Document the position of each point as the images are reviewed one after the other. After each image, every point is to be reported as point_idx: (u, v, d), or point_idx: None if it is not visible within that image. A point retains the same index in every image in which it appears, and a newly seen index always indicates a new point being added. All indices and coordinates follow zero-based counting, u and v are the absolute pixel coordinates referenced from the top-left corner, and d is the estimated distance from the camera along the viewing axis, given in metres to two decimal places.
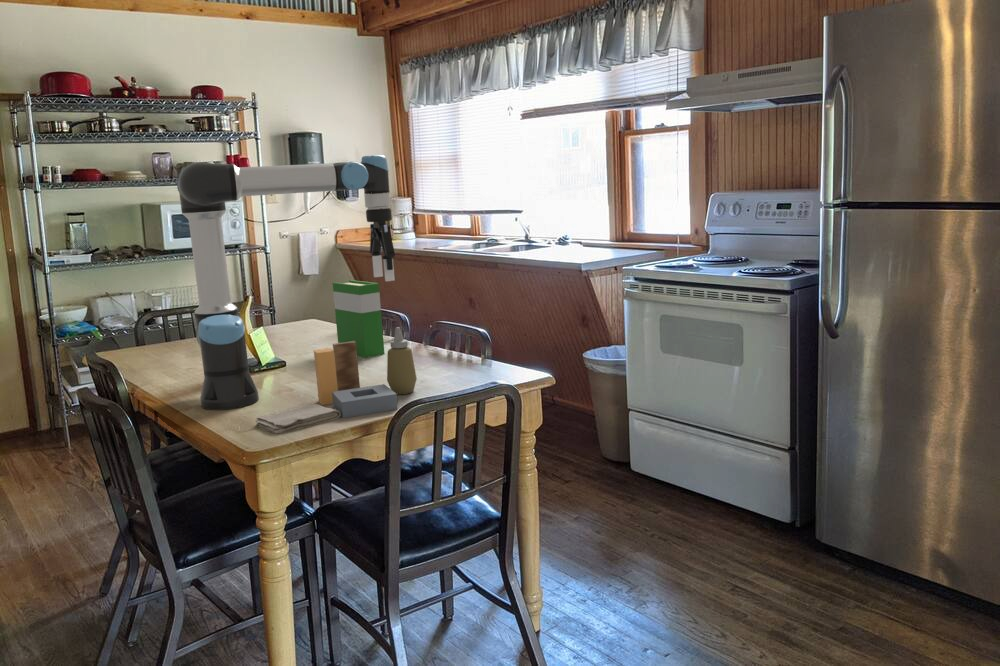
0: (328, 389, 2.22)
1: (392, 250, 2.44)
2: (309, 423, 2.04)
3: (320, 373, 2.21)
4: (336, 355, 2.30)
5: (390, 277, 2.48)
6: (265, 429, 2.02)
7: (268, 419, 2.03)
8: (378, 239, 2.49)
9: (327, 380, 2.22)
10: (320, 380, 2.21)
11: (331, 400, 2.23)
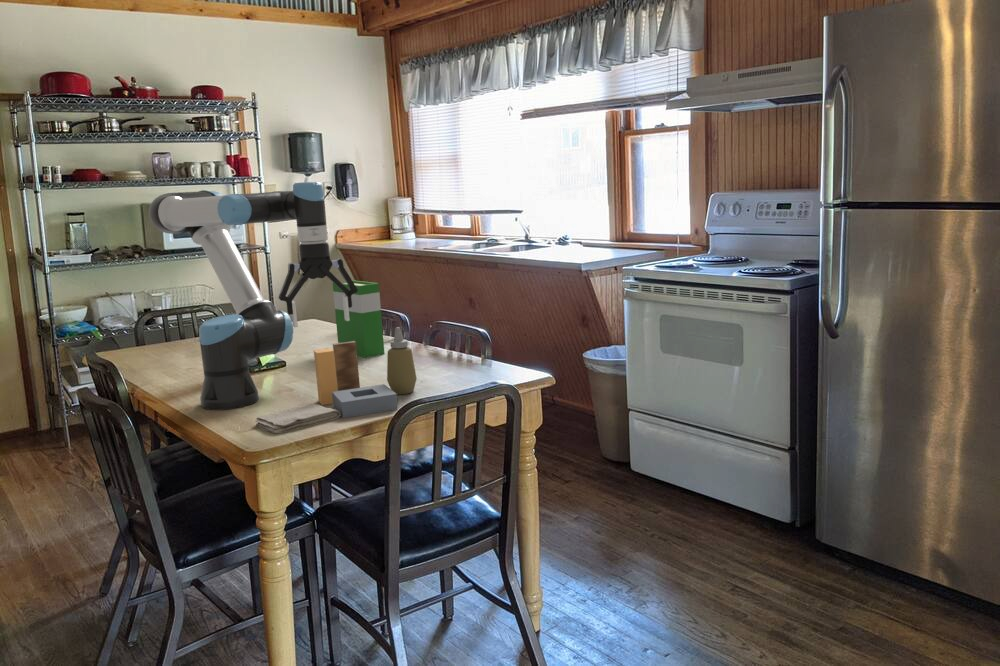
0: (328, 389, 2.22)
1: (281, 293, 2.15)
2: (309, 423, 2.04)
3: (320, 373, 2.21)
4: (336, 355, 2.30)
5: (293, 322, 2.18)
6: (265, 429, 2.02)
7: (268, 419, 2.04)
8: None
9: (327, 380, 2.22)
10: (320, 380, 2.21)
11: (331, 400, 2.23)
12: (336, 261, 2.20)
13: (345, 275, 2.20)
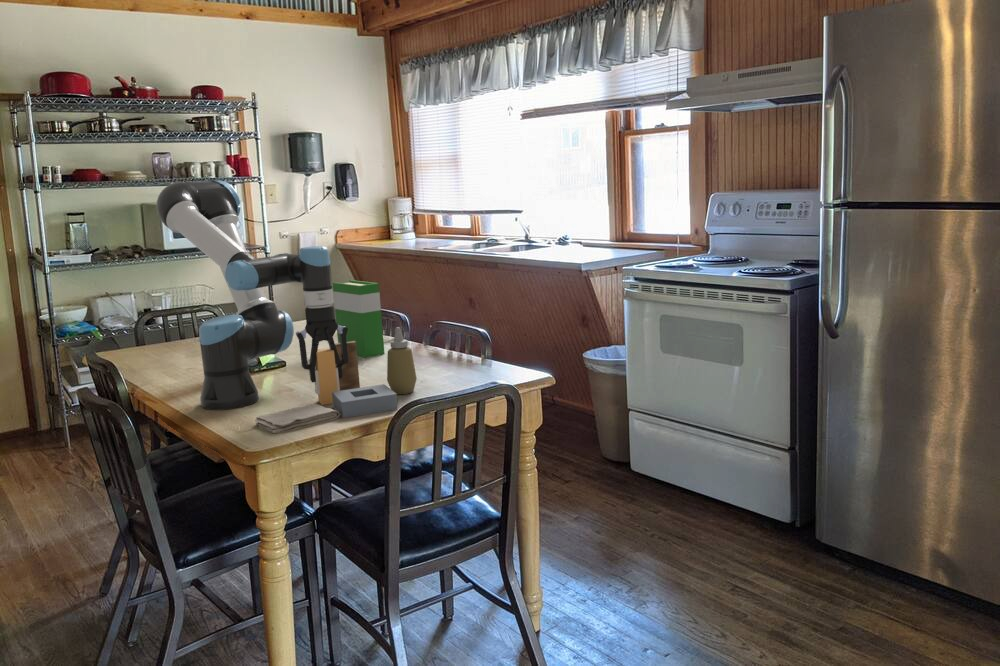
0: (328, 389, 2.22)
1: (302, 362, 2.20)
2: (308, 423, 2.04)
3: (320, 373, 2.21)
4: None
5: (316, 390, 2.23)
6: (264, 429, 2.02)
7: (267, 419, 2.04)
8: (313, 342, 2.23)
9: (327, 380, 2.22)
10: (320, 380, 2.21)
11: (331, 400, 2.23)
12: (342, 327, 2.23)
13: (343, 343, 2.23)
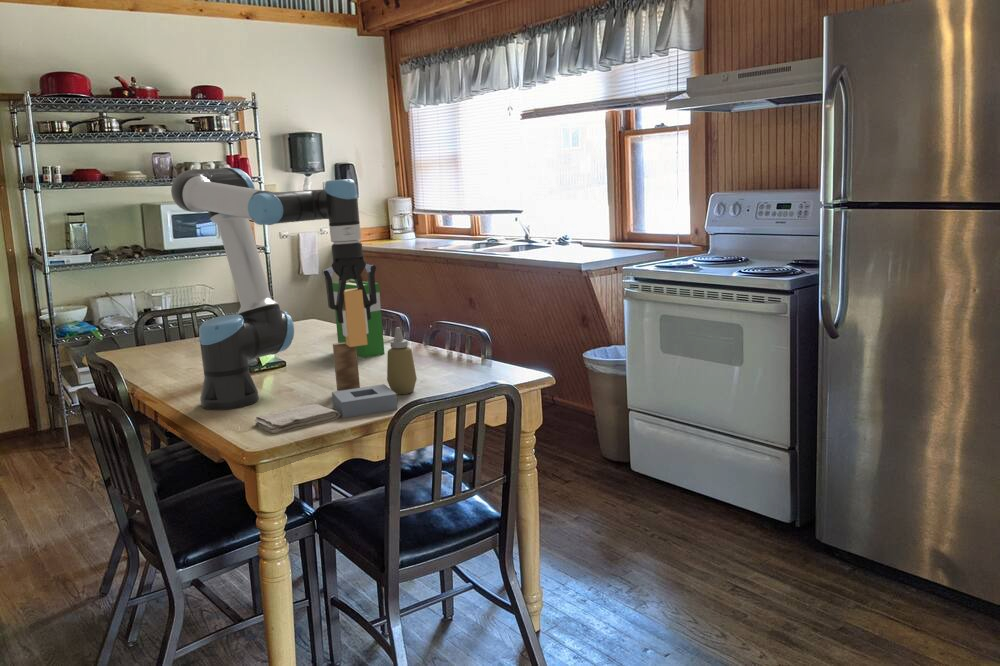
0: (357, 331, 2.11)
1: (329, 302, 2.09)
2: (307, 423, 2.04)
3: (348, 313, 2.10)
4: (336, 355, 2.30)
5: (343, 331, 2.12)
6: (263, 428, 2.03)
7: (266, 418, 2.04)
8: None
9: (355, 321, 2.11)
10: (348, 321, 2.10)
11: (359, 342, 2.12)
12: (370, 266, 2.12)
13: (372, 283, 2.12)
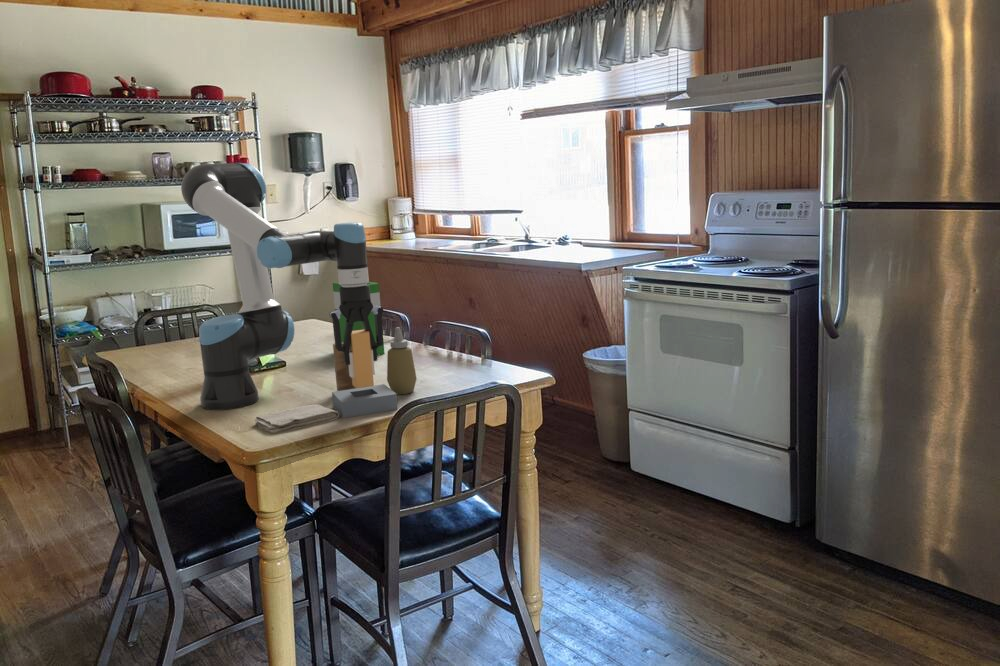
0: (363, 372, 2.13)
1: (336, 344, 2.10)
2: (306, 423, 2.04)
3: (355, 355, 2.11)
4: (336, 355, 2.30)
5: (350, 373, 2.14)
6: (263, 428, 2.03)
7: (266, 418, 2.04)
8: None
9: (362, 363, 2.12)
10: (355, 362, 2.11)
11: (366, 383, 2.13)
12: (377, 308, 2.13)
13: (379, 325, 2.13)
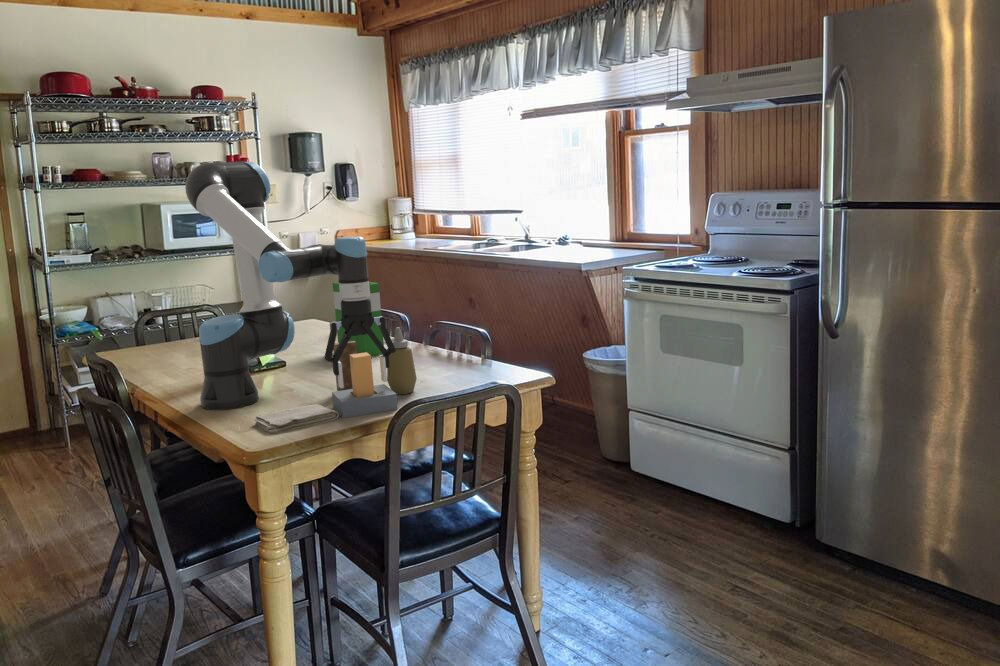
0: (365, 395, 2.14)
1: (326, 354, 2.10)
2: (305, 423, 2.04)
3: (357, 378, 2.12)
4: None
5: (339, 383, 2.13)
6: (262, 428, 2.03)
7: (266, 418, 2.04)
8: None
9: (363, 386, 2.13)
10: (356, 386, 2.12)
11: None
12: (378, 318, 2.14)
13: (385, 334, 2.14)
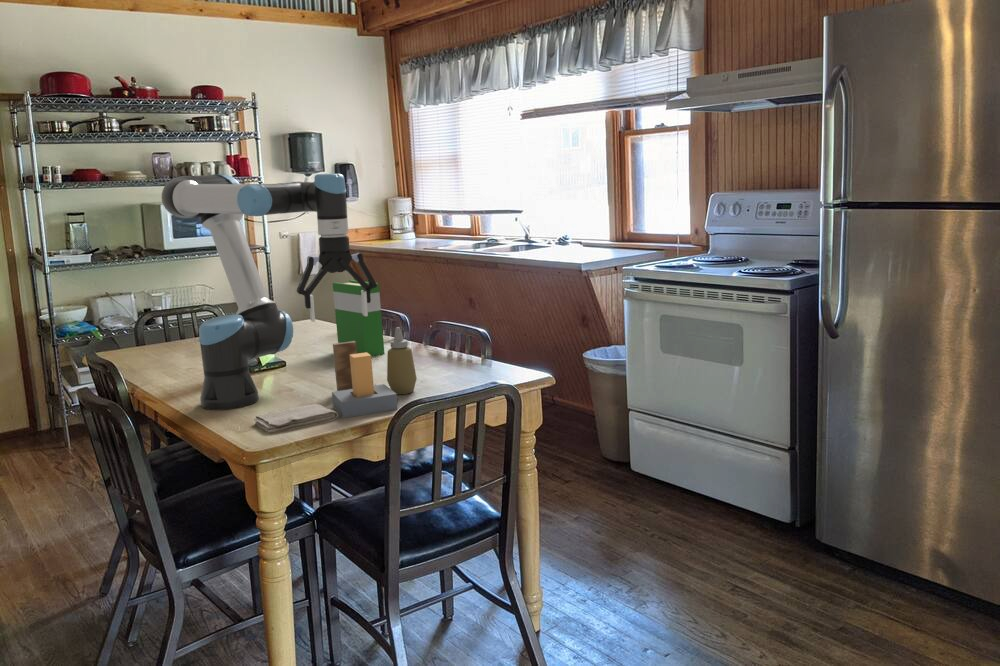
0: (365, 395, 2.14)
1: (299, 286, 2.11)
2: (304, 423, 2.03)
3: (357, 378, 2.12)
4: (336, 355, 2.30)
5: (311, 316, 2.14)
6: (261, 428, 2.03)
7: (265, 418, 2.05)
8: None
9: (363, 386, 2.13)
10: (357, 386, 2.12)
11: None
12: (356, 255, 2.15)
13: (365, 270, 2.16)
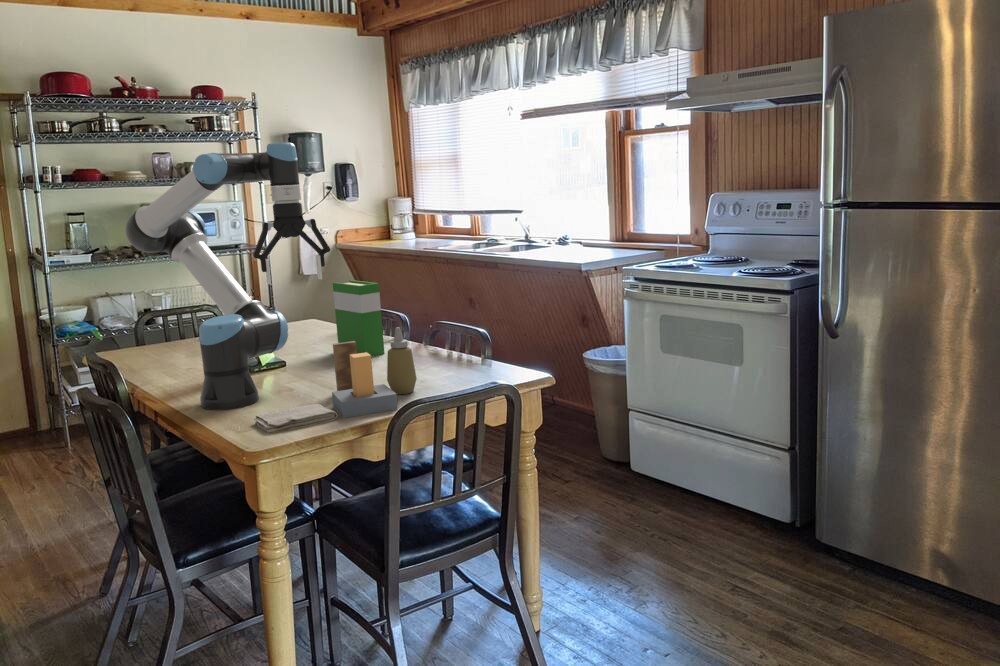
0: (365, 395, 2.14)
1: (255, 251, 2.22)
2: (304, 423, 2.03)
3: (357, 378, 2.12)
4: (336, 355, 2.30)
5: (267, 280, 2.25)
6: (261, 428, 2.04)
7: (265, 418, 2.05)
8: None
9: (363, 386, 2.13)
10: (357, 386, 2.12)
11: None
12: (309, 221, 2.26)
13: (318, 234, 2.27)
